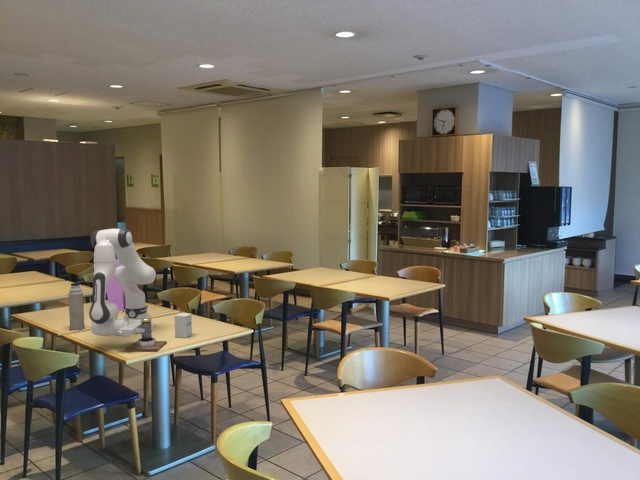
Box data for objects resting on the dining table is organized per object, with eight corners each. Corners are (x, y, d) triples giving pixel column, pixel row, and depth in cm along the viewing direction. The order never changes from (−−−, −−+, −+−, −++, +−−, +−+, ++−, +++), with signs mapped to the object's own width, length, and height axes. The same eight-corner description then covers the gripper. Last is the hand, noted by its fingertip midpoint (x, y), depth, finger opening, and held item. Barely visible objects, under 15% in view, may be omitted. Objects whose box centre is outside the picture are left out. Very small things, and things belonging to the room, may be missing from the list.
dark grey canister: (143, 343, 293) (142, 317, 292) (153, 343, 293) (153, 317, 292) (139, 346, 287) (138, 319, 286) (150, 346, 287) (149, 319, 286)
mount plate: (137, 343, 299) (137, 340, 298) (166, 343, 298) (166, 341, 298) (126, 351, 283) (126, 349, 282) (156, 351, 282) (156, 349, 282)
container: (118, 307, 392) (116, 258, 389) (134, 308, 389) (133, 259, 386) (105, 311, 379) (103, 261, 376) (123, 312, 375) (121, 261, 372)
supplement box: (186, 338, 308) (186, 316, 307) (174, 337, 310) (174, 315, 309) (192, 334, 315) (191, 313, 314) (180, 334, 317) (180, 312, 316)
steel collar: (141, 342, 295) (141, 337, 294) (157, 342, 294) (157, 337, 294) (135, 347, 286) (135, 341, 286) (152, 347, 286) (152, 341, 285)
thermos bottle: (77, 327, 335) (76, 281, 332) (87, 328, 331) (85, 282, 329) (67, 330, 327) (64, 283, 325) (76, 331, 324) (74, 284, 322)
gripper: (114, 326, 279) (140, 327, 279) (129, 317, 300) (154, 317, 299) (114, 338, 280) (141, 339, 279) (129, 328, 300) (154, 329, 300)
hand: (148, 327), depth 289 cm, fingers open, 8 cm apart
